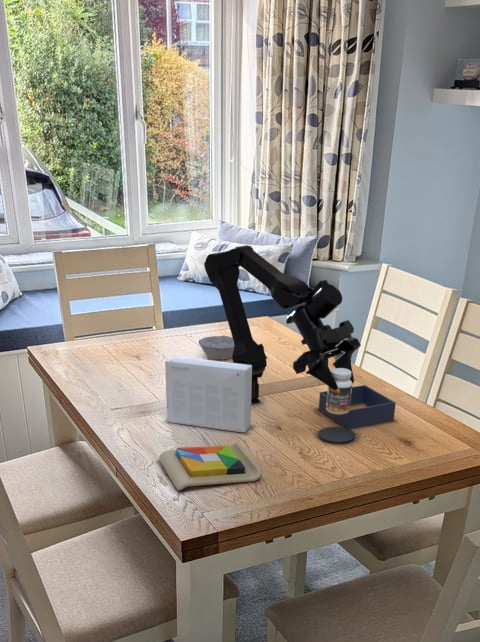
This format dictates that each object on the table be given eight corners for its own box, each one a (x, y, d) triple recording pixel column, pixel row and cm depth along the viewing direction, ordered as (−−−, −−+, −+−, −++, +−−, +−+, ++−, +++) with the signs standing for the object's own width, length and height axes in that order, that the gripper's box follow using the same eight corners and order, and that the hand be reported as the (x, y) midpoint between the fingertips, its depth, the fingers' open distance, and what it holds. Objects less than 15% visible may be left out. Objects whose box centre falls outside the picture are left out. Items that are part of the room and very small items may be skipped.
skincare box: (252, 425, 188) (253, 364, 180) (245, 433, 183) (245, 371, 176) (174, 414, 194) (172, 354, 186) (166, 422, 189) (163, 361, 181)
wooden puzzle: (263, 480, 162) (263, 466, 160) (178, 494, 156) (178, 479, 154) (236, 448, 176) (236, 434, 174) (157, 459, 170) (157, 445, 169)
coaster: (329, 446, 177) (330, 444, 177) (311, 432, 184) (311, 430, 184) (362, 440, 181) (362, 438, 180) (342, 426, 188) (342, 424, 187)
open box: (346, 429, 186) (348, 410, 184) (318, 410, 197) (319, 392, 195) (393, 420, 191) (395, 402, 189) (363, 402, 202) (365, 384, 200)
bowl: (197, 350, 241) (197, 335, 239) (237, 349, 242) (237, 334, 240) (200, 363, 230) (199, 347, 227) (241, 362, 231) (241, 346, 229)
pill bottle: (327, 415, 177) (330, 375, 172) (324, 406, 182) (327, 366, 177) (351, 415, 177) (355, 375, 172) (348, 406, 182) (351, 367, 177)
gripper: (305, 317, 165) (339, 378, 163) (358, 303, 176) (391, 360, 175) (277, 344, 173) (310, 402, 172) (330, 328, 185) (361, 383, 183)
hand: (344, 386), depth 175 cm, fingers closed on pill bottle, 5 cm apart
